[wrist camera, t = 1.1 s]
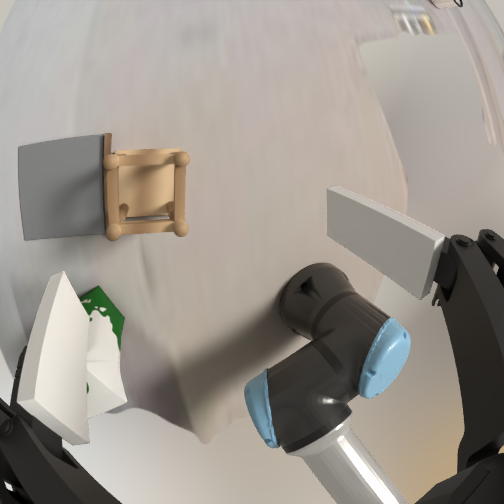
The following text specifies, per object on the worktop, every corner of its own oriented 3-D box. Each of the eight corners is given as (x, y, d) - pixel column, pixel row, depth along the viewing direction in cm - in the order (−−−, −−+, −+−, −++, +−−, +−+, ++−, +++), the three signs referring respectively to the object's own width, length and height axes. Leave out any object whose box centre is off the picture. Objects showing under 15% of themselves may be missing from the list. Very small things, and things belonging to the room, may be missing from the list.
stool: (180, 148, 35) (196, 146, 23) (178, 211, 38) (193, 241, 26) (116, 151, 32) (97, 149, 20) (117, 214, 35) (102, 246, 23)
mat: (103, 134, 30) (103, 134, 30) (105, 233, 35) (105, 233, 35) (19, 146, 25) (18, 146, 25) (25, 239, 30) (24, 240, 30)
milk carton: (99, 277, 37) (76, 369, 19) (132, 319, 41) (137, 417, 23) (62, 303, 35) (30, 395, 18) (95, 341, 40) (87, 437, 22)
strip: (111, 133, 30) (110, 133, 29) (113, 232, 35) (112, 235, 34) (106, 134, 30) (104, 133, 29) (107, 232, 35) (106, 235, 34)
